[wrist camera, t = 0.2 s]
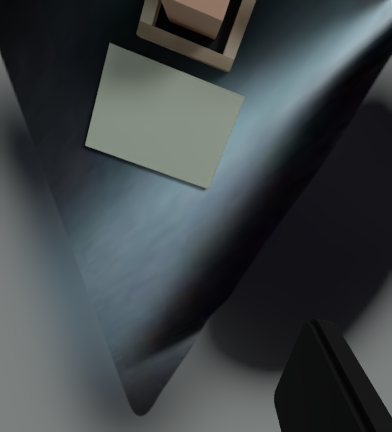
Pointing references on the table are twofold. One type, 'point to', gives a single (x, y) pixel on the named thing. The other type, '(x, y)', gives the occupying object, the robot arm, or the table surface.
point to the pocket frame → (189, 48)
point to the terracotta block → (197, 15)
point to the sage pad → (161, 117)
